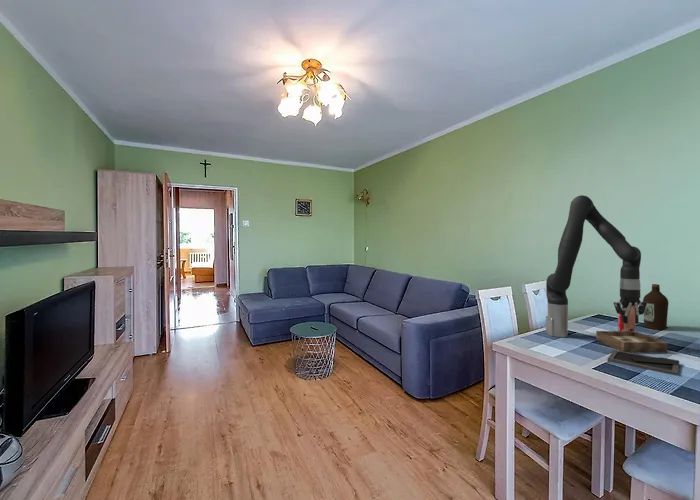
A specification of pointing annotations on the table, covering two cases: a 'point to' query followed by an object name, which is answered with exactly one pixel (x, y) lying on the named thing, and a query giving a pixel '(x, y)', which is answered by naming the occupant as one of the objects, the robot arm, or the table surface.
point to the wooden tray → (631, 341)
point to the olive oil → (655, 309)
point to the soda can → (622, 325)
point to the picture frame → (645, 362)
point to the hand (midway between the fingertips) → (630, 323)
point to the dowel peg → (631, 318)
